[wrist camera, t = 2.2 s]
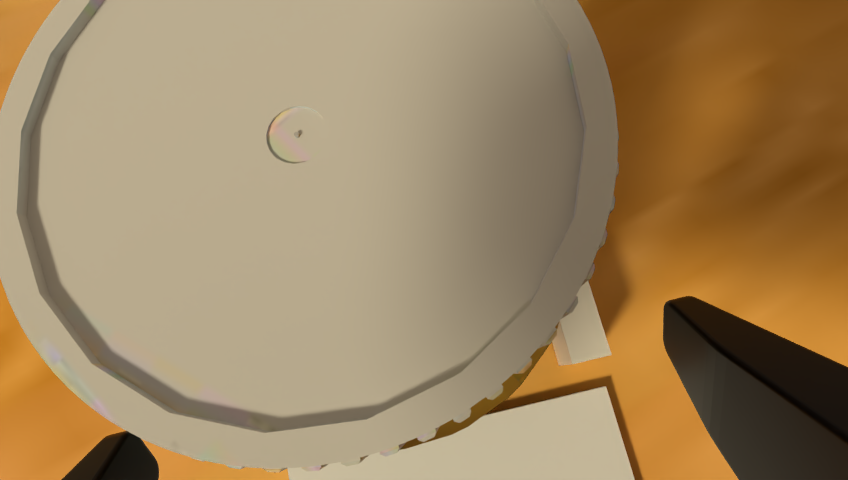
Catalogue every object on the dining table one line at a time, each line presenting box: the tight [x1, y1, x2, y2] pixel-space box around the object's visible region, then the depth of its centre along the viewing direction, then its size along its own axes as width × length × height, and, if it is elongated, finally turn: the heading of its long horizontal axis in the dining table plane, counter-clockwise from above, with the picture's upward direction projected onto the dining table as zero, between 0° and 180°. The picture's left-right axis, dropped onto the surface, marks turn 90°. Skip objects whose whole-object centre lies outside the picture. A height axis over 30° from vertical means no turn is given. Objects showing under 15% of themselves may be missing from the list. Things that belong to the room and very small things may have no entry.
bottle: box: [0, 0, 619, 472], centre depth 12 cm, size 7×7×15 cm
